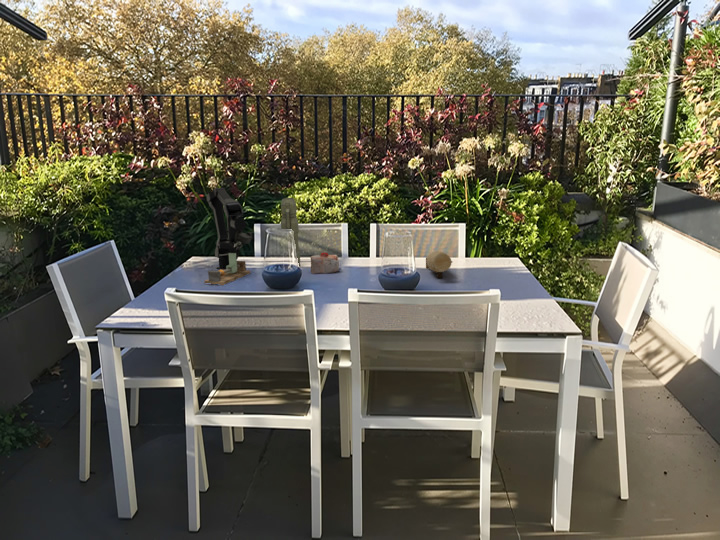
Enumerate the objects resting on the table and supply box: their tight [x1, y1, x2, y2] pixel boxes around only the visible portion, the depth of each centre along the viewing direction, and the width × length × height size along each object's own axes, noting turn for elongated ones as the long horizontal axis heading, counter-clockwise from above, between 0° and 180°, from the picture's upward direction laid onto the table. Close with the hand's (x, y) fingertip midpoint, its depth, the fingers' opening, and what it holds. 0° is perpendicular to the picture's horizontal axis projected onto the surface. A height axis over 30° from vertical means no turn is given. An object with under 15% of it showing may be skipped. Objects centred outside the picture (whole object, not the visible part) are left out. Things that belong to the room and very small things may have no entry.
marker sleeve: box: [225, 253, 238, 273], centre depth 290 cm, size 4×3×9 cm
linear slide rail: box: [204, 260, 251, 286], centre depth 287 cm, size 24×10×6 cm, turn 159°
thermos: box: [280, 197, 301, 267], centre depth 306 cm, size 9×12×35 cm
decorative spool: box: [425, 250, 453, 279], centre depth 283 cm, size 10×12×30 cm
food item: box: [310, 252, 340, 275], centre depth 295 cm, size 14×8×10 cm, turn 99°
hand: (236, 259), depth 293 cm, fingers closed
